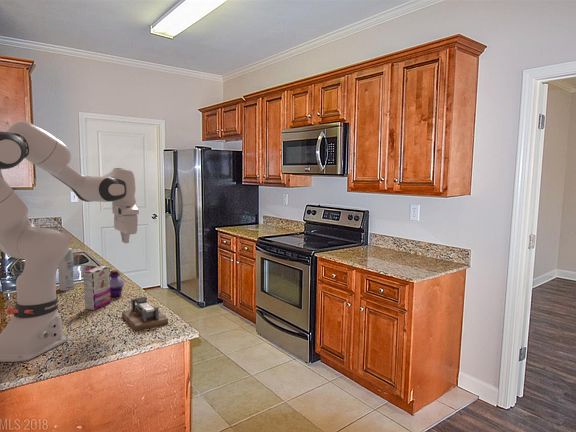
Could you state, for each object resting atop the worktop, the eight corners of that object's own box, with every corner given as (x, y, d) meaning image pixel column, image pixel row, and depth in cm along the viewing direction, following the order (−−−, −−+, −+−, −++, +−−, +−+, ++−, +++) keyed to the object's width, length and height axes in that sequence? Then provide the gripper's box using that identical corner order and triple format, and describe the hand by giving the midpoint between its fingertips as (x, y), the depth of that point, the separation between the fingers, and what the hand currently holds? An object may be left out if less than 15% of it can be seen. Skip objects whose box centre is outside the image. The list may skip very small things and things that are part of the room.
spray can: (68, 290, 188) (66, 250, 186) (56, 290, 189) (54, 250, 187) (77, 287, 195) (75, 247, 193) (64, 286, 195) (62, 247, 193)
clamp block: (158, 319, 147) (158, 306, 147) (143, 322, 144) (143, 309, 143) (145, 308, 160) (145, 296, 159) (131, 310, 156) (130, 298, 156)
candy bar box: (101, 301, 174) (100, 265, 172) (111, 302, 173) (110, 266, 171) (84, 309, 163) (82, 271, 161) (94, 310, 162) (93, 272, 160)
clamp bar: (154, 310, 147) (154, 307, 147) (146, 312, 145) (146, 308, 145) (142, 300, 158) (142, 297, 158) (134, 301, 156) (134, 298, 156)
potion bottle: (100, 297, 179) (99, 271, 178) (114, 292, 187) (113, 267, 186) (115, 299, 176) (114, 273, 175) (129, 294, 184) (128, 269, 183)
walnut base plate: (168, 323, 149) (168, 318, 148) (136, 330, 141) (135, 325, 141) (152, 310, 163) (152, 305, 162) (122, 316, 155) (122, 311, 155)
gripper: (109, 207, 162) (110, 239, 164) (123, 211, 146) (124, 247, 148) (125, 206, 166) (126, 238, 168) (140, 210, 150) (141, 245, 152)
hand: (125, 242), depth 158 cm, fingers closed
